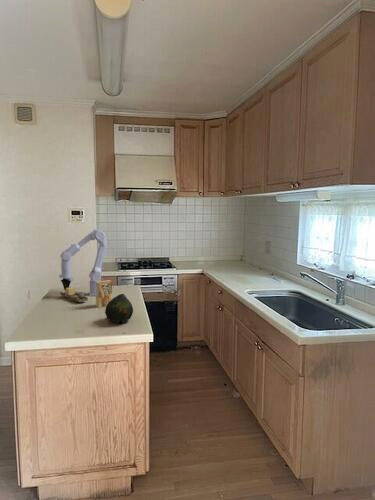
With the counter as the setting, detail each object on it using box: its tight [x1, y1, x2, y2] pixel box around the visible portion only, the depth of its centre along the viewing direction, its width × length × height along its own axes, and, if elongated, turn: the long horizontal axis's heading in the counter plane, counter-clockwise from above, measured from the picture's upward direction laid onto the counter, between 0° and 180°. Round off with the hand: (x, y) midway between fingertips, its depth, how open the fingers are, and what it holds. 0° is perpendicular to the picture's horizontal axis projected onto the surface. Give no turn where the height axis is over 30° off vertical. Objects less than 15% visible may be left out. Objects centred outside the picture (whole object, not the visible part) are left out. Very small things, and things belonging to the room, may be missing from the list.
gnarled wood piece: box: [59, 291, 89, 303], centre depth 237 cm, size 24×7×6 cm, turn 46°
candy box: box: [95, 279, 113, 309], centre depth 223 cm, size 9×4×15 cm, turn 129°
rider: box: [65, 286, 75, 295], centre depth 240 cm, size 4×4×4 cm
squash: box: [104, 293, 134, 324], centre depth 197 cm, size 14×15×15 cm
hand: (66, 290), depth 243 cm, fingers closed
